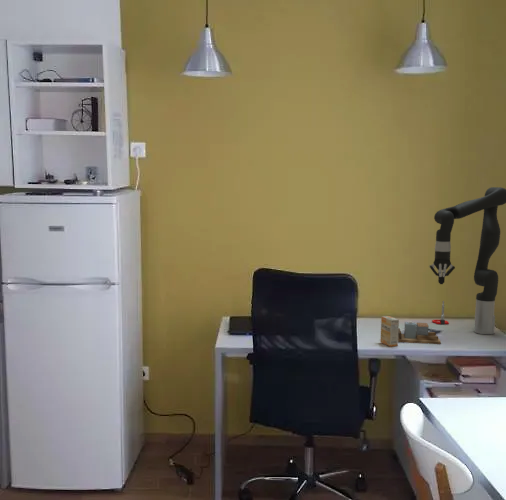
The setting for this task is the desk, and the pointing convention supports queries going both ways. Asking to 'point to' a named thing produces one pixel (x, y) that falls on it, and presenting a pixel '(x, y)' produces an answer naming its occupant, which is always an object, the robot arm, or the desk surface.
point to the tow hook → (441, 317)
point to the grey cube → (422, 329)
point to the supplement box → (389, 331)
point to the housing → (410, 330)
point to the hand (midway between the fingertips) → (441, 283)
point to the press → (420, 338)
